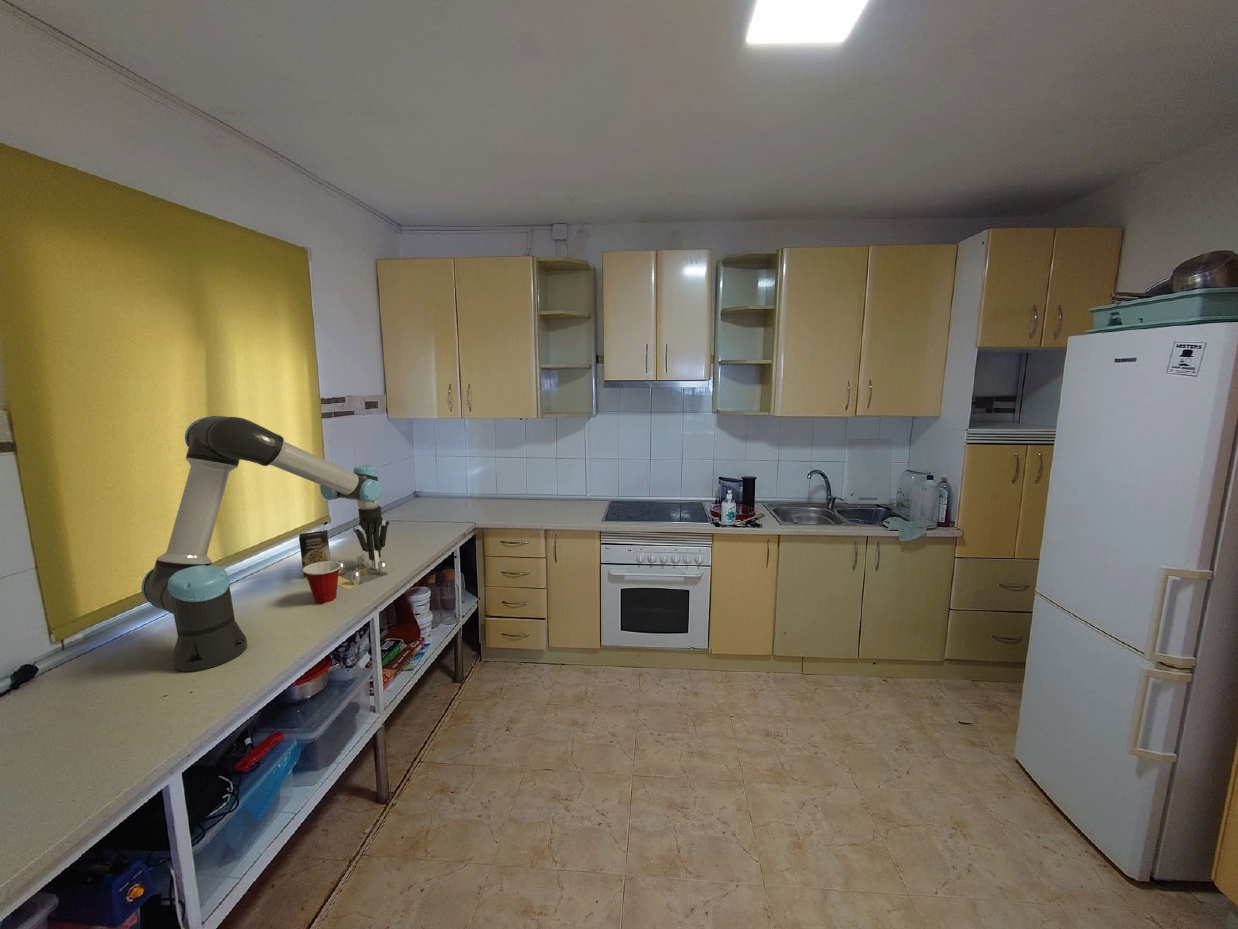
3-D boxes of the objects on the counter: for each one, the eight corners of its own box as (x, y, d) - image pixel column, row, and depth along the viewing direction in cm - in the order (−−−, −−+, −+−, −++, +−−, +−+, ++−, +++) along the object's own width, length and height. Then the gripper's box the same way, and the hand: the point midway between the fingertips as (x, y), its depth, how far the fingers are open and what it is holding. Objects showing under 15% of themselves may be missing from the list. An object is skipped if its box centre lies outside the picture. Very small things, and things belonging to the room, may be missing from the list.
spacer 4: (381, 577, 180) (380, 564, 179) (377, 575, 181) (376, 562, 180) (388, 574, 182) (387, 561, 181) (384, 573, 184) (383, 560, 183)
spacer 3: (360, 570, 186) (359, 558, 185) (356, 569, 188) (355, 556, 187) (367, 568, 189) (366, 556, 188) (363, 567, 190) (362, 554, 189)
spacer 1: (339, 577, 181) (337, 564, 180) (335, 575, 182) (334, 562, 181) (347, 574, 183) (345, 562, 182) (343, 573, 184) (341, 560, 184)
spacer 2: (355, 587, 171) (353, 573, 171) (350, 585, 173) (349, 572, 172) (362, 584, 174) (361, 571, 173) (358, 582, 175) (357, 569, 174)
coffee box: (303, 580, 178) (297, 538, 176) (304, 574, 184) (298, 533, 181) (332, 575, 183) (327, 533, 180) (332, 569, 188) (327, 529, 186)
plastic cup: (335, 607, 157) (331, 571, 154) (300, 609, 156) (295, 573, 154) (351, 592, 167) (347, 559, 165) (318, 594, 166) (313, 560, 164)
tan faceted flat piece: (359, 577, 179) (358, 571, 178) (353, 575, 181) (352, 568, 181) (373, 573, 183) (372, 566, 182) (366, 570, 185) (366, 564, 185)
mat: (347, 590, 169) (347, 588, 169) (324, 579, 179) (323, 578, 179) (388, 575, 181) (388, 574, 181) (364, 566, 191) (364, 565, 191)
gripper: (357, 512, 174) (364, 574, 179) (391, 504, 185) (397, 563, 189) (346, 509, 179) (353, 570, 183) (380, 501, 189) (386, 559, 193)
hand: (376, 567), depth 186 cm, fingers closed
